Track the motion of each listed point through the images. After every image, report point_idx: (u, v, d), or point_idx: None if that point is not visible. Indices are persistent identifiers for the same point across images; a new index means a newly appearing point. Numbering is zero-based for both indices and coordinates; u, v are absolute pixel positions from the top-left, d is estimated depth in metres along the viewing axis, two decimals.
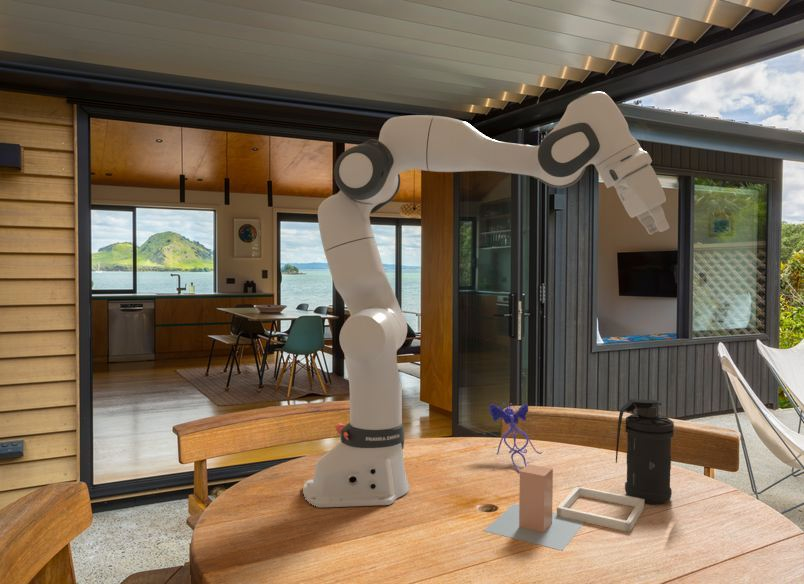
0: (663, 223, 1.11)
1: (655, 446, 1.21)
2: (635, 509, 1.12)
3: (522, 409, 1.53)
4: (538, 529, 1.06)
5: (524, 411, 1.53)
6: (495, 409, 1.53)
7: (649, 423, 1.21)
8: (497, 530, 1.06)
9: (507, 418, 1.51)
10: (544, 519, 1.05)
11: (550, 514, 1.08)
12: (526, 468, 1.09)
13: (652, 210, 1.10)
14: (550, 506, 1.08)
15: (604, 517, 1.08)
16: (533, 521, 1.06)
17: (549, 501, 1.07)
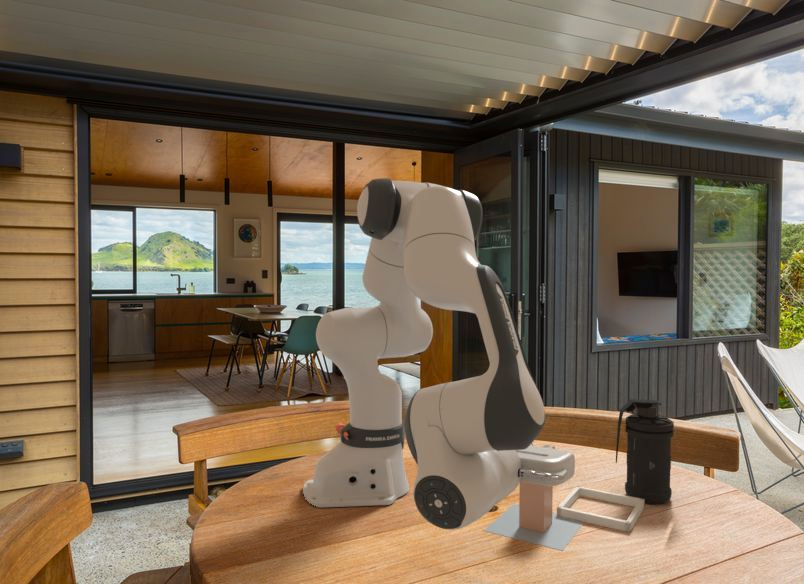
0: None
1: (655, 446, 1.21)
2: (635, 509, 1.12)
3: None
4: (538, 529, 1.06)
5: None
6: None
7: (649, 423, 1.21)
8: (497, 530, 1.06)
9: None
10: (544, 519, 1.05)
11: (550, 514, 1.08)
12: None
13: None
14: (550, 506, 1.08)
15: (604, 517, 1.08)
16: (533, 521, 1.06)
17: (549, 501, 1.07)
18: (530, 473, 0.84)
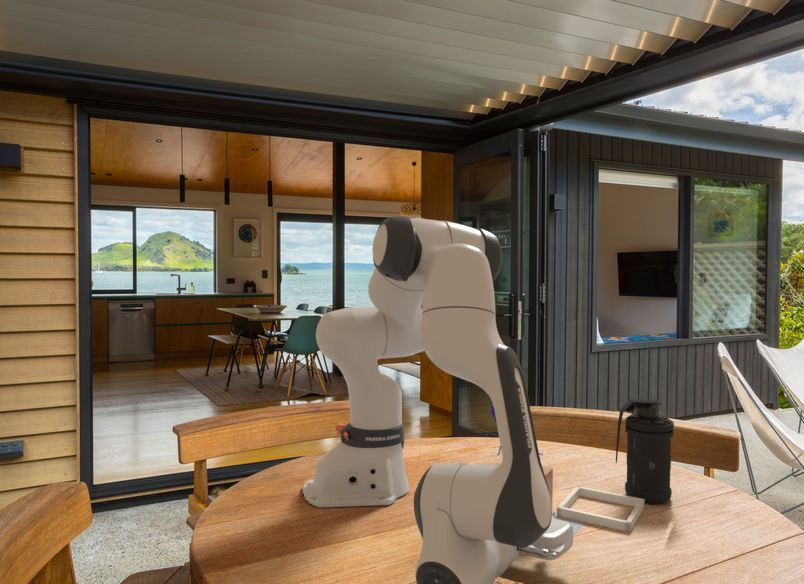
0: None
1: (655, 446, 1.21)
2: (635, 509, 1.12)
3: None
4: None
5: None
6: None
7: (649, 423, 1.21)
8: None
9: None
10: None
11: None
12: None
13: None
14: None
15: (604, 517, 1.08)
16: None
17: None
18: (528, 548, 0.87)
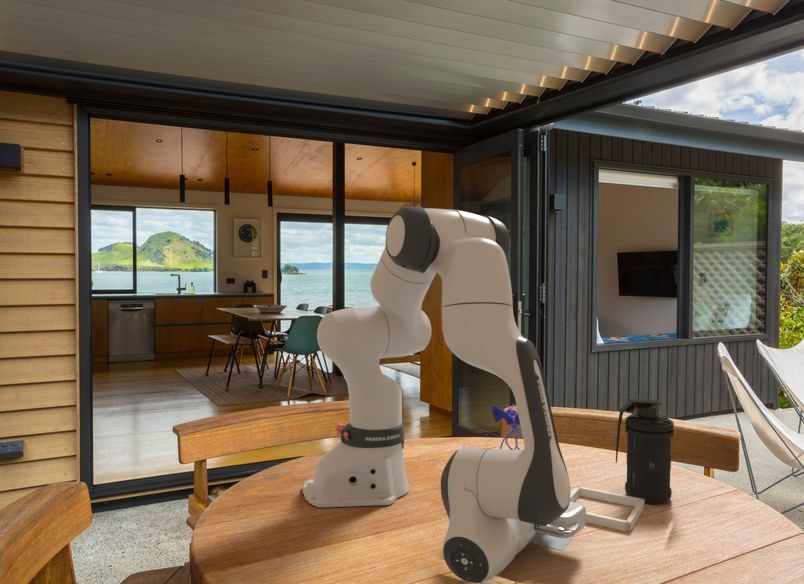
0: None
1: (655, 446, 1.21)
2: (635, 509, 1.12)
3: None
4: None
5: None
6: (497, 410, 1.52)
7: (649, 423, 1.21)
8: None
9: (509, 419, 1.50)
10: None
11: None
12: None
13: None
14: None
15: (604, 517, 1.08)
16: None
17: None
18: (545, 527, 0.94)
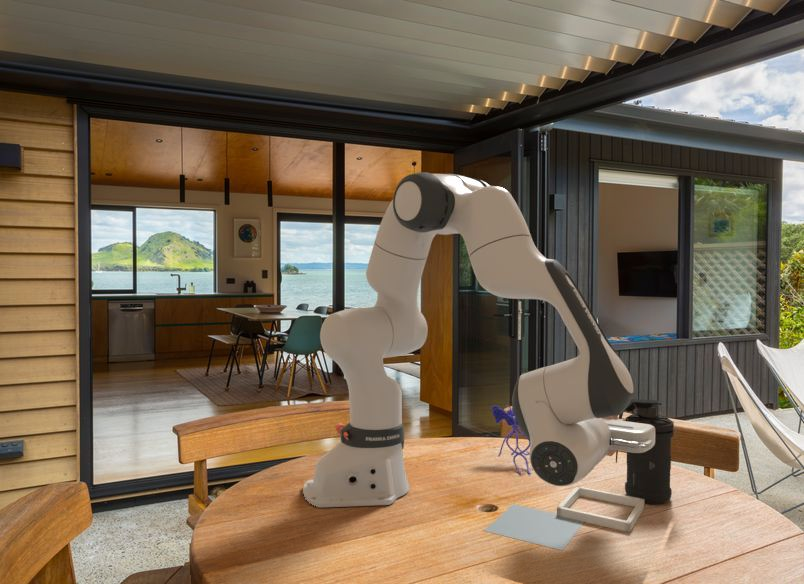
0: None
1: (655, 446, 1.21)
2: (635, 509, 1.12)
3: None
4: None
5: None
6: (498, 410, 1.51)
7: (649, 423, 1.21)
8: (497, 530, 1.06)
9: (510, 420, 1.49)
10: None
11: None
12: None
13: None
14: None
15: (604, 517, 1.08)
16: None
17: None
18: (620, 442, 1.00)
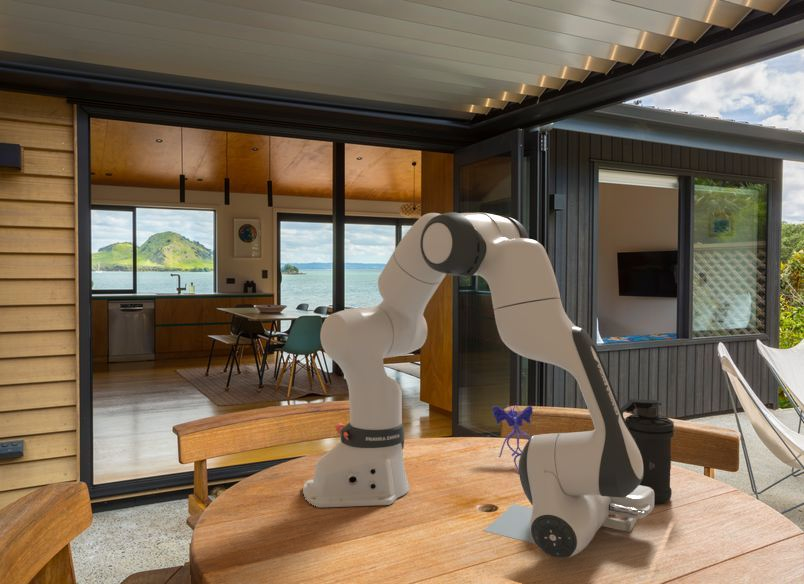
0: None
1: (655, 446, 1.21)
2: None
3: (526, 411, 1.50)
4: None
5: (528, 413, 1.51)
6: (498, 411, 1.51)
7: (649, 423, 1.21)
8: (497, 530, 1.06)
9: (510, 420, 1.49)
10: None
11: None
12: None
13: None
14: None
15: None
16: None
17: None
18: (619, 508, 1.00)
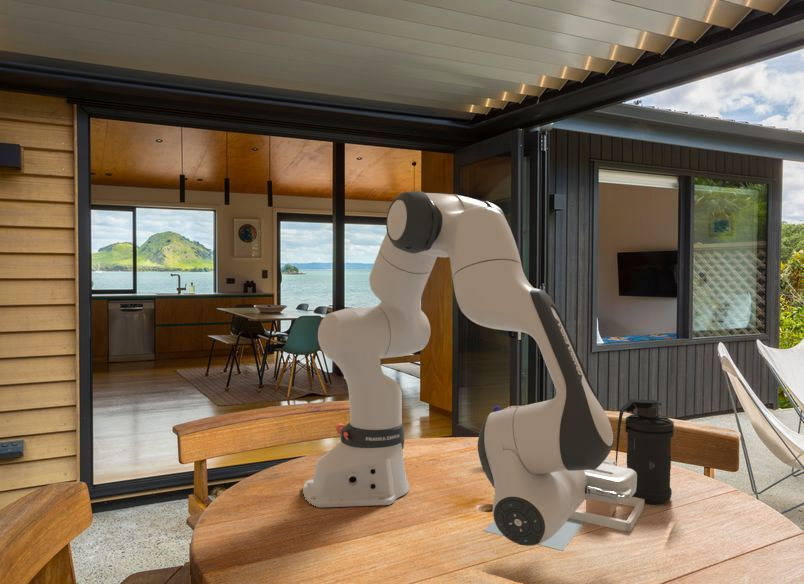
0: None
1: (655, 446, 1.21)
2: (635, 509, 1.12)
3: None
4: None
5: None
6: None
7: (649, 423, 1.21)
8: (497, 530, 1.06)
9: None
10: (610, 511, 1.12)
11: (615, 506, 1.14)
12: None
13: None
14: None
15: (604, 517, 1.08)
16: (599, 512, 1.12)
17: None
18: (597, 491, 0.89)
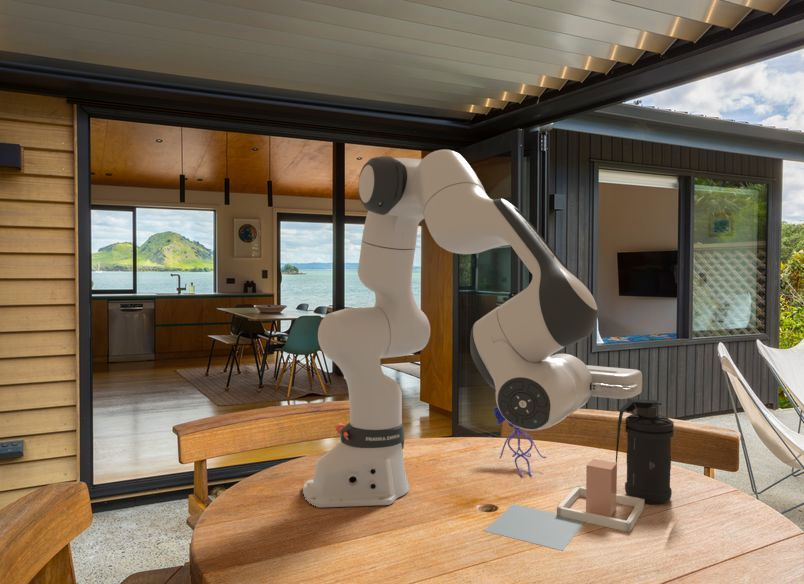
0: None
1: (655, 446, 1.21)
2: (635, 509, 1.12)
3: None
4: None
5: None
6: (500, 412, 1.50)
7: (649, 423, 1.21)
8: (497, 530, 1.06)
9: None
10: (610, 511, 1.12)
11: (615, 506, 1.14)
12: (592, 462, 1.15)
13: None
14: (615, 498, 1.14)
15: (604, 517, 1.08)
16: (599, 512, 1.12)
17: (614, 493, 1.14)
18: (602, 386, 0.88)
